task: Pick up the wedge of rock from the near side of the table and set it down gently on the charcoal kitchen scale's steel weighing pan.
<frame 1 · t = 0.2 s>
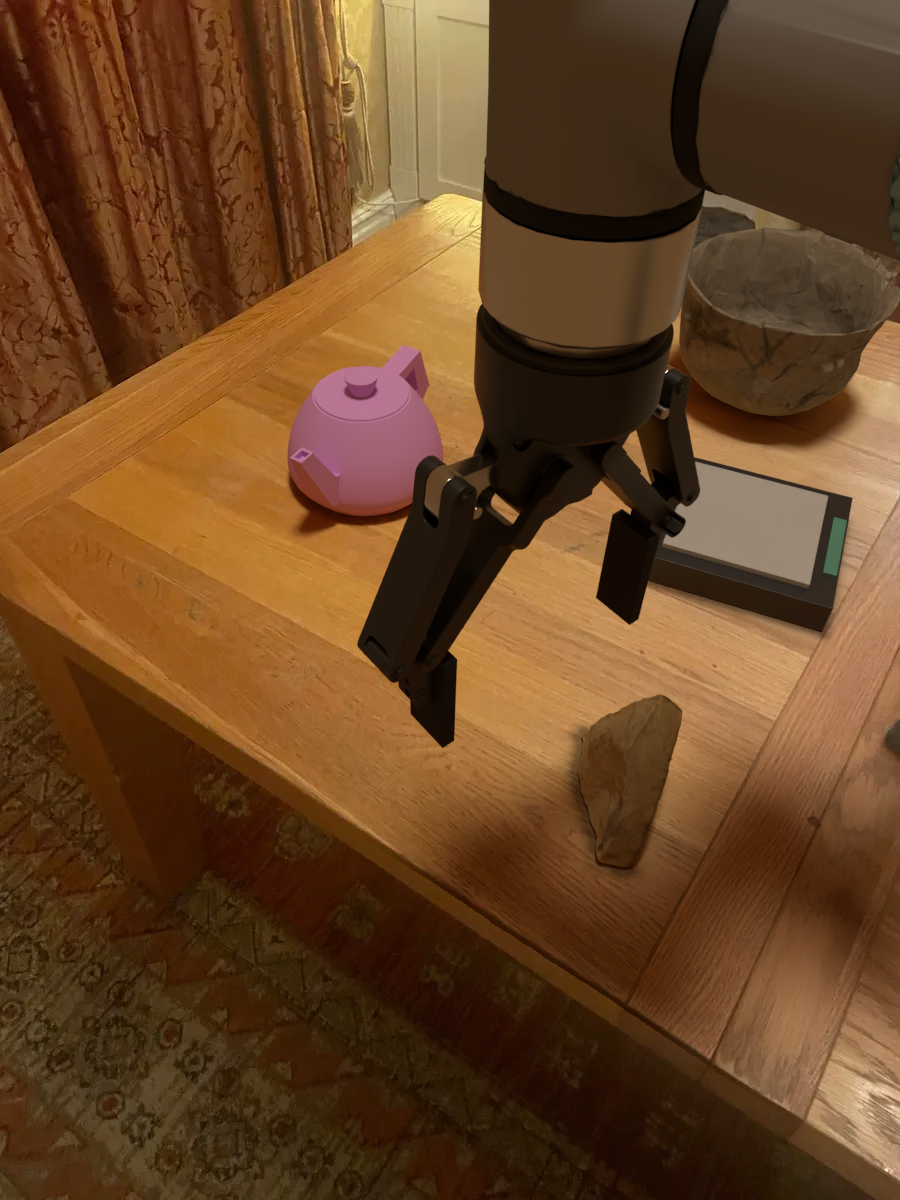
hand: (530, 664, 50), 21 cm above the table, tool pointing down, fingers open, 13 cm apart
plate: (592, 304, 118), on the table
scale: (746, 549, 87), on the table
teapot: (366, 477, 93), on the table
rock: (606, 802, 68), on the table
bowl: (752, 398, 104), on the table
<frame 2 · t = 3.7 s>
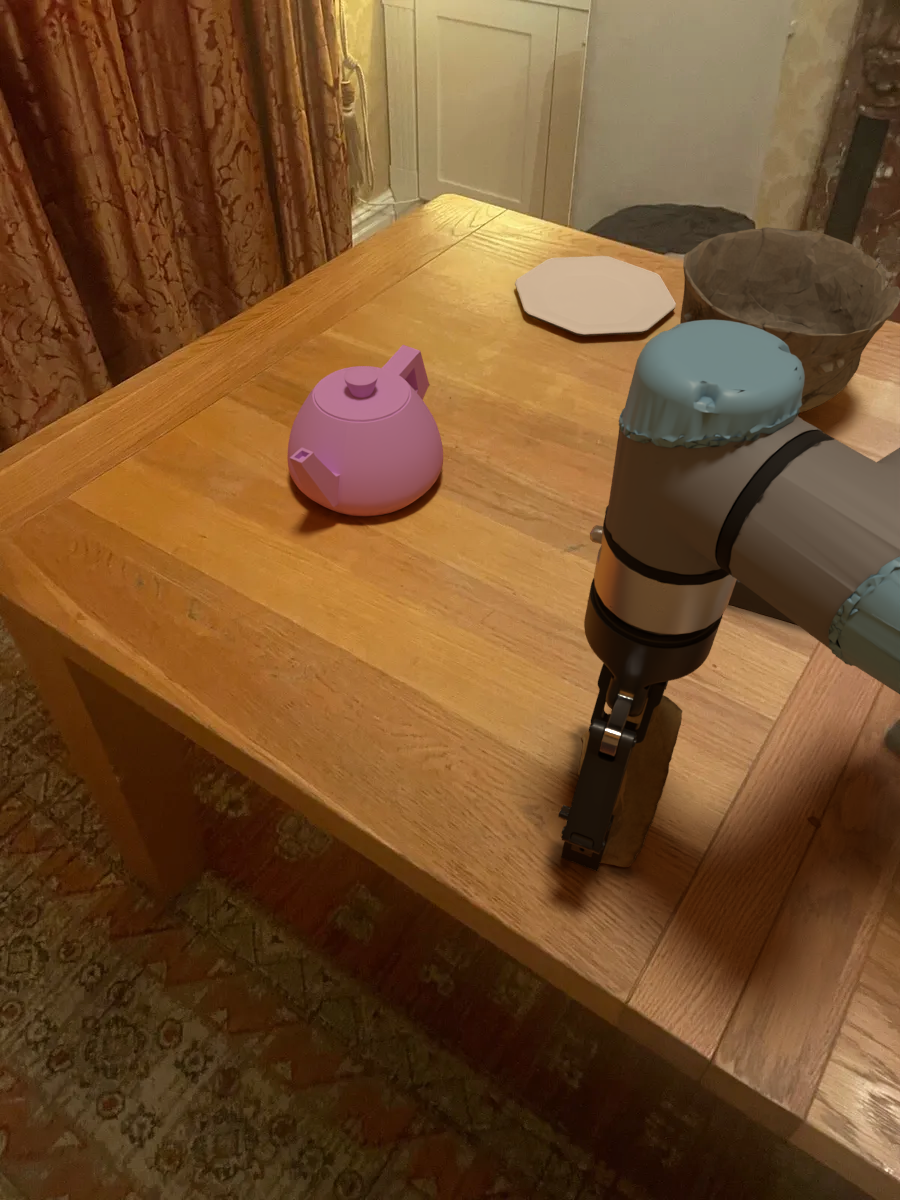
hand: (602, 796, 67), 0 cm above the table, tool pointing down, fingers closed on rock, 10 cm apart
rock: (606, 802, 68), on the table, touching gripper
everything else where it was.
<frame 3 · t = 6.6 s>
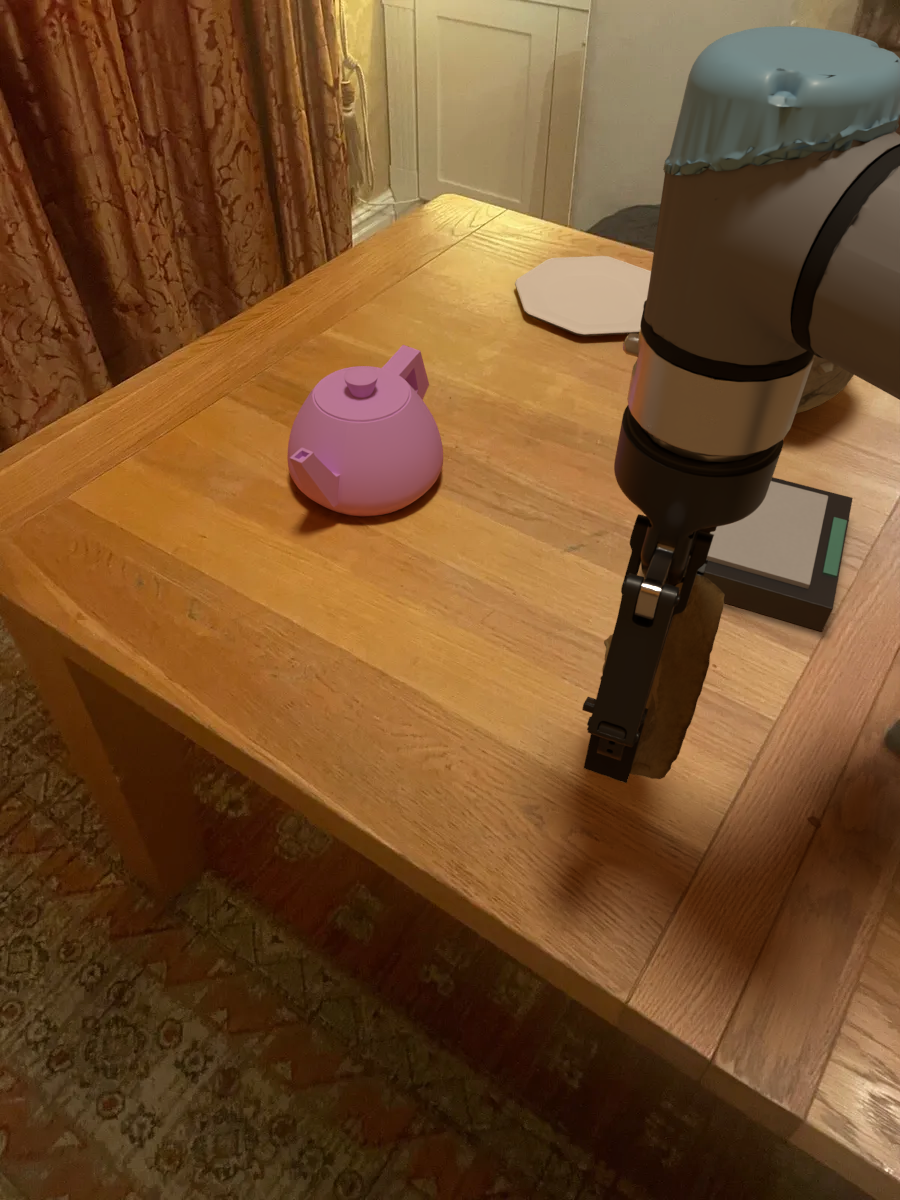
hand: (630, 703, 58), 12 cm above the table, tool pointing down, fingers closed on rock, 10 cm apart
rock: (634, 711, 59), point 12 cm above the table, touching gripper
everything else where it was.
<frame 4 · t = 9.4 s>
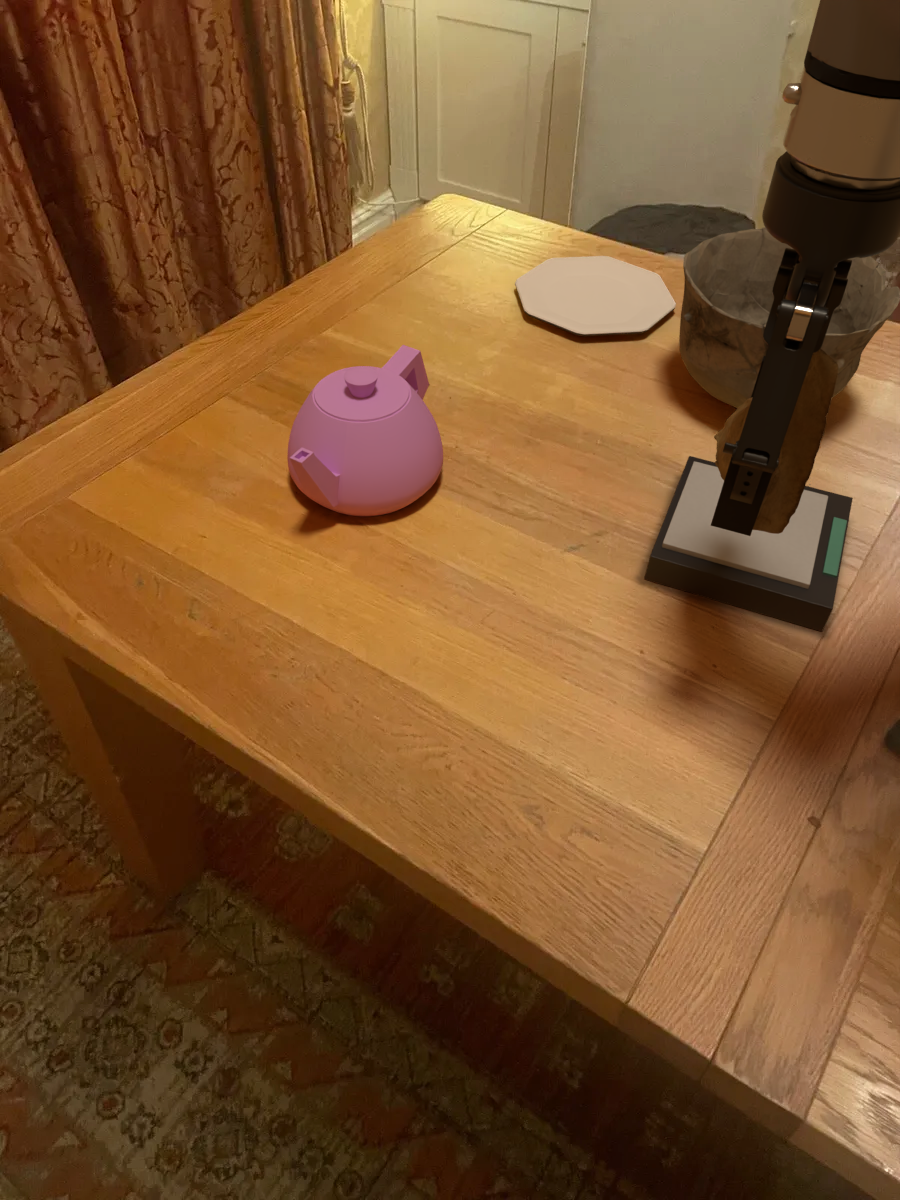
hand: (745, 479, 65), 18 cm above the table, tool pointing down, fingers closed on rock, 10 cm apart
rock: (747, 488, 66), point 17 cm above the table, touching gripper
everything else where it was.
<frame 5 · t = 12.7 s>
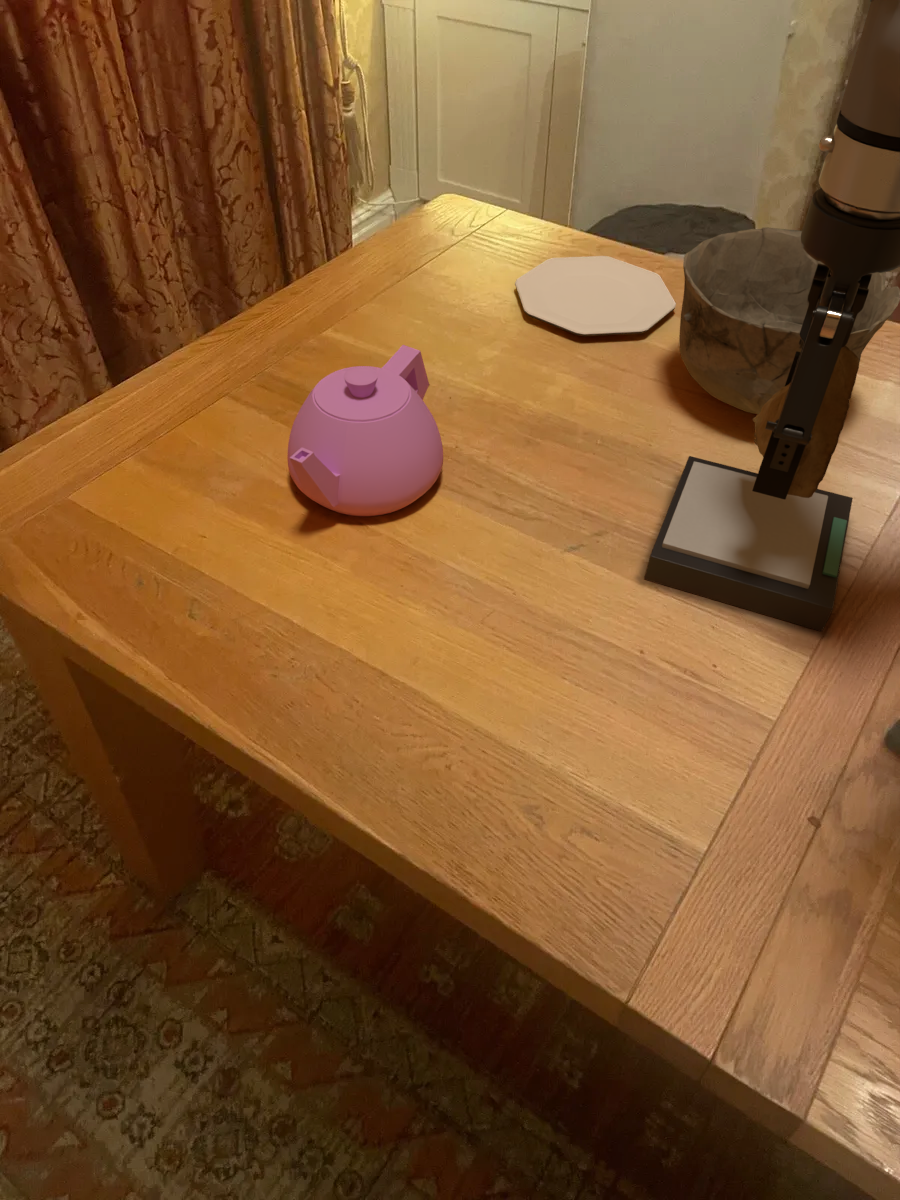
hand: (779, 454, 78), 11 cm above the table, tool pointing down, fingers closed on rock, 10 cm apart
rock: (781, 461, 79), point 11 cm above the table, touching gripper
everything else where it was.
when the fingers open (4 cm above the table, at t = 15.3 s): rock stays where it is, resting on scale.
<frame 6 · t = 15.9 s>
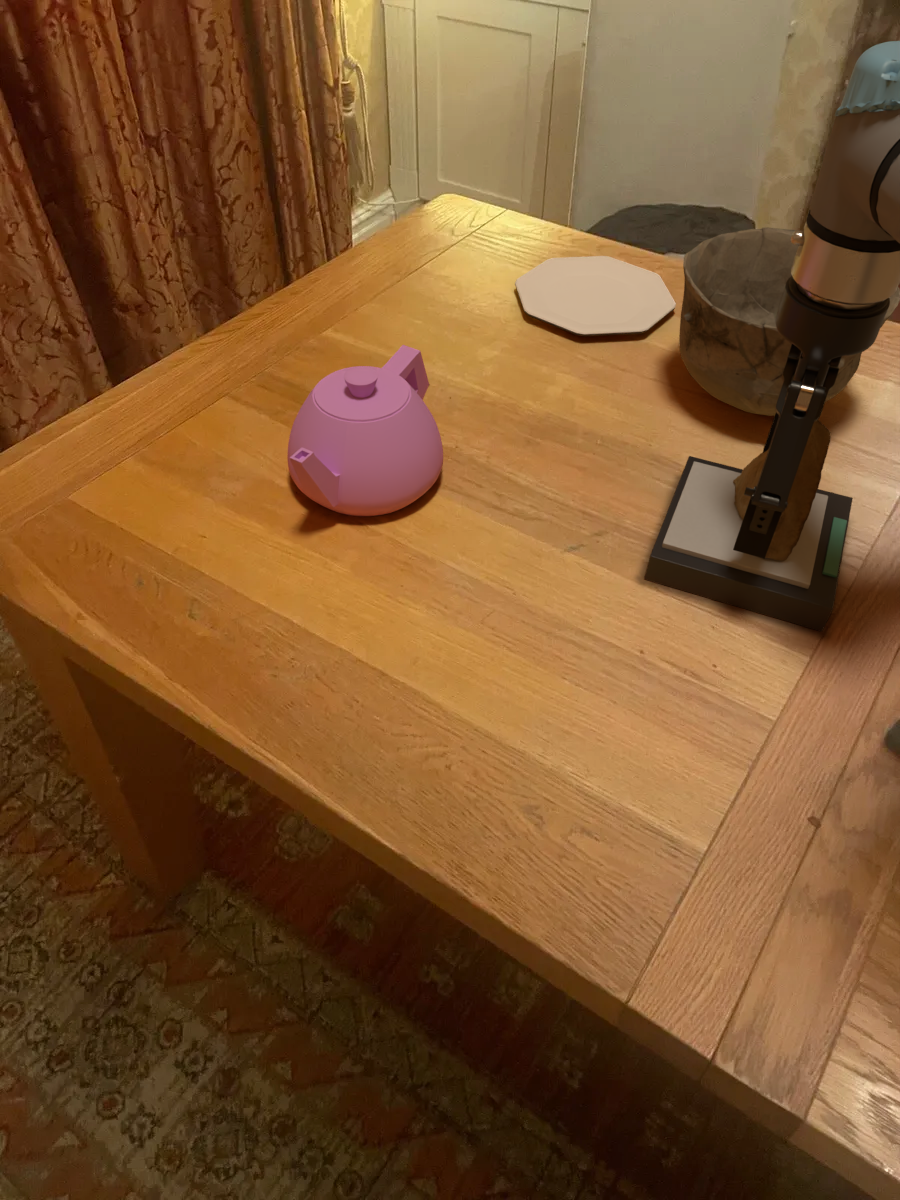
hand: (762, 504, 82), 6 cm above the table, tool pointing down, fingers open, 13 cm apart
rock: (759, 523, 84), point 3 cm above the table, touching scale
everything else where it was.
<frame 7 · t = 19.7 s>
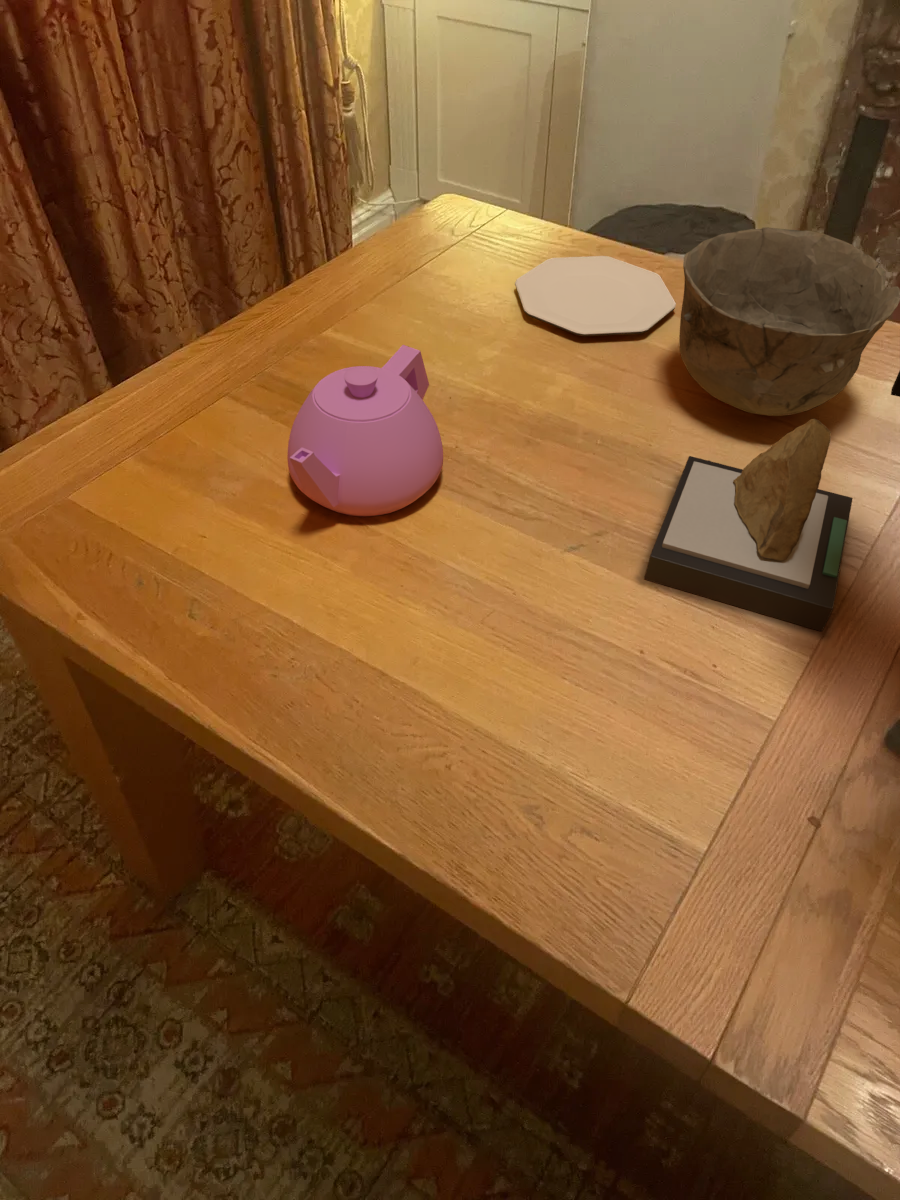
nothing on the table moved.
at the end: rock inside the target area on the scale (0.8 cm from its centre), point 3.4 cm above the scale's base; rock tilted 0°; the gripper is holding nothing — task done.
